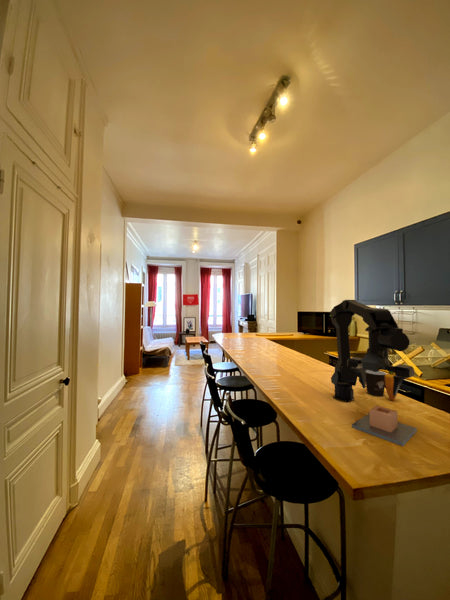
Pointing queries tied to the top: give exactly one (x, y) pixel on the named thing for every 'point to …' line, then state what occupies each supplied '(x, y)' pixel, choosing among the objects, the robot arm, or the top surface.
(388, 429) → the socket block
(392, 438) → the pin plate
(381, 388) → the coffee mug
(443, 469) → the top surface
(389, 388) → the carrot
